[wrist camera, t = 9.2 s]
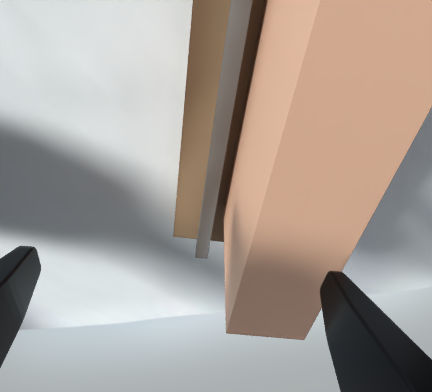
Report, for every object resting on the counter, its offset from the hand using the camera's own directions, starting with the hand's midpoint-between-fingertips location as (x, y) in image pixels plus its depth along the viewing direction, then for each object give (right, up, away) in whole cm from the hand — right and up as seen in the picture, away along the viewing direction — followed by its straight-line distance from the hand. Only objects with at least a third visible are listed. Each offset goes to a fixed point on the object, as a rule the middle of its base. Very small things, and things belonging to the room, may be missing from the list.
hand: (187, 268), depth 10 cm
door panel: (+4, +7, +8) cm, 11 cm away
